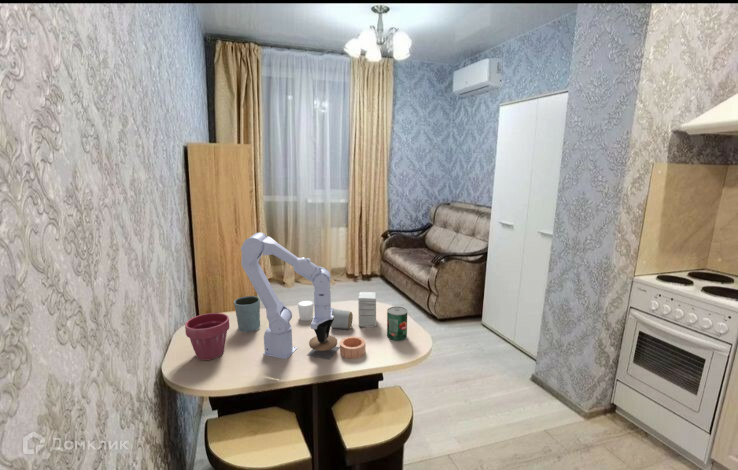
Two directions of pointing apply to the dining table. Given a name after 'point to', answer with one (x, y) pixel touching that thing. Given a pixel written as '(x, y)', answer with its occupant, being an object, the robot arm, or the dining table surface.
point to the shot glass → (305, 310)
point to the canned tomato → (397, 324)
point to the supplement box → (367, 309)
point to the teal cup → (248, 313)
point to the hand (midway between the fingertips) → (323, 339)
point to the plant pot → (208, 334)
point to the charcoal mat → (323, 353)
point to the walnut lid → (323, 343)
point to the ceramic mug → (342, 319)
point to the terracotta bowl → (352, 347)
